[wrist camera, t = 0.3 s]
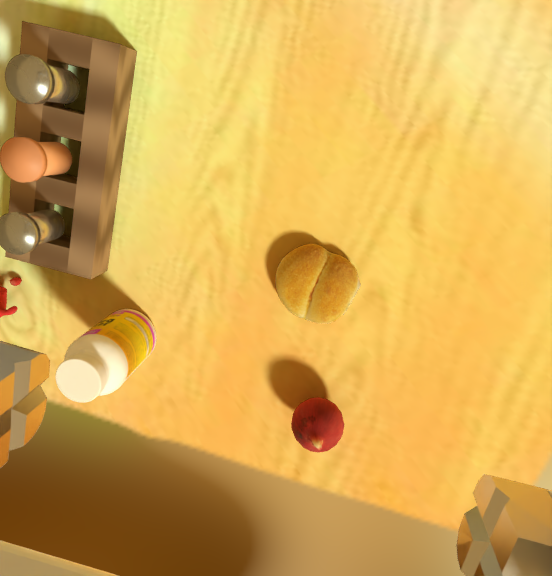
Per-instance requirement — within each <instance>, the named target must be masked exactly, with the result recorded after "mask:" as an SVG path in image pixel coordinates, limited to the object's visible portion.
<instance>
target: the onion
mask: <svg viewBox="0 0 552 576" xmlns="http://www.w3.org/2000/svg"><path fill="white" fill-rule="evenodd" d="M291 425H292V431H293V433H294V436H295V438H296V440H297V441H298V442H299V443H300V444H301V445H302V446H303V447H304V448H306V449H308V450H309V451H313V452H324V451H328V450H330V449H331V448H333V447H334V446H335V445H336V444H337V443H338V441H339V440H340V438H341V437H342V434H343V429H344V422H343V417H342V414H341V412H340V410H339V409H338V407H337V406H336V405H335V404H334V403H332V402H331V401H329V400H327V399H324V398H319V397H317V398H310V399H308V400H306V401H304V402H302V403H300V405H299V406H298V407H297V408H296V410H295V411H294V413H293V417H292V424H291Z"/></svg>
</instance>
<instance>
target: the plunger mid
mask: <svg viewBox="0 0 552 576" xmlns="http://www.w3.org/2000/svg"><path fill="white" fill-rule="evenodd" d="M0 162H1V165H2V168H3V170H4V171H5V173H6V174H7V175H8V176H9V177H10V178H11V179H13V180H15V181H17V182H22V183H25V182H33V181H37V180H39V179H40V178H41V177H42V176H48V175H57V174H63V173H66V172H67V171H68V170H69V169H70V167H71V165H72V155H71V153H70V151H69V149H68V148H67V147H66V146H65V145H64V144H62V143H59V142H37V141H35V140H33V139H31V138H27V137H14V138H11V139H9V140H7V141H6V142H5V143H4V144H3V146H2V148H1V151H0Z"/></svg>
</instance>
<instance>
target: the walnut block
mask: <svg viewBox="0 0 552 576" xmlns="http://www.w3.org/2000/svg"><path fill="white" fill-rule="evenodd" d="M20 54H28V55H32V56H35V57H38V58H41V59H42V60H44V61H45V62H46V63H47V64H48V65H51V66H54V67H58V68H62V69H66V70H68V65H73V66H77V67H81V68H85V69H89V77H88V87H87V96H86V105H85V113H84V112H80V111H76V110H72V109H67V108H64V104H62V103H55V102H47V101H46V102H44V103H42V104H28V103H23V102H21V101H19V100H17V103H16V117H15V131H14V137H27V138H31V139H33V140H35V141H37V142H59V143H60V142H61V137H65V138H69V139H73V140H77V141H81V150H80V159H79V168H78V177H74V176H70V175H66V174H57V175H48V176H42V177H41V178H40V179H39V180H37V181H33V182H25V183H22V182H17V181H15V180H13V179H11V186H10V200H9V213H13V212H23V213H26V214H28V213H33V212H37V211H42V210H46V209H51V210H54V204H57V205H61V206H65V207H69V208H73V209H74V213H73V222H72V231H71V237H67V236H63V235H62V236H61V237H59V238H57V239H54V240H51V241H48V242H45V243H42V244H39V245H38V246H37V248H36V249H34V250H33V251H31V252H28V253H25V254H22V255H14V254H11V253H9V252H7V251H6V256H5V257H9V258H12V259H16V260H20V261H24V262H27V263H31V264H35V265H39V266H43V267H46V268H50V269H54V270H58V271H61V272H65V273H69V274H73V275H77V276H80V277H84V278H88V279H93V278H95V277H96V276H98V275H100V274H102V273H104V272H106V271H107V269H108V262H109V255H110V247H111V240H112V232H113V225H114V218H115V210H116V203H117V195H118V188H119V180H120V173H121V166H122V158H123V151H124V143H125V136H126V129H127V121H128V114H129V106H130V99H131V92H132V84H133V77H134V69H135V62H136V55H137V51H135V50H133V49H130V48H128V47H126V46H124V45H121V44H118V43H113V42H109V41H105V40H101V39H96V38H92V37H88V36H84V35H79V34H75V33H71V32H67V31H62V30H58V29H54V28H50V27H45V26H41V25H37V24H33V23H28V22H24V21H22V34H21V48H20Z"/></svg>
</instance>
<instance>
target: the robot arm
mask: <svg viewBox="0 0 552 576" xmlns="http://www.w3.org/2000/svg"><path fill="white" fill-rule="evenodd" d="M49 368H50V360H49V358H48V357H47V355H46V354H43V353H40V352H37V351H33V350H30V349H26V348H23V347H20V346H16V345H13V344H9V343H6V342H3V341H0V468H1V467H2V466H3V465H4V464H5V463H6V462H7V461H8V454H9V451H10V450H13V449H16V448H19V447H22V446H24V445H25V444H26V443H27V442H28V441H29V440H30V439H31V438H32V437H33V436H34V435H35V433H36V431H37V430H38V428H39V426H40V424H41V423H42V419H43V416H44V413H45V409H46V401H47V397H46V395H45V393H44V392H43V390H42V388H41V386H40V385H41V384H42V383H43V382H44V381H45V380H46V379H47V378H48V377H49ZM473 494H474V497H475V500H476V503H477V506H476V507H475V508H473V509H471V510H470V511H468V512H466V513H465V514H464V517H463V519H462V522H461V525H460V528H459V532H458V540H457V555H458V561H459V565H460V569H461V571H462V572H463V573H464V574H465V575H466V576H552V490H548V489H544V488H540V487H536V486H531V485H527V484H523V483H519V482H515V481H511V480H507V479H503V478H499V477H495V476H491V475H485V474H484V475H483V476H482V477H481V478H480V480H479V481H478V483H477V485H476V487H475V490H474V492H473ZM0 576H118V575H115V574H112V573H108V572H105V571H102V570H98V569H95V568H91V567H88V566H84V565H81V564H78V563H75V562H71V561H68V560H65V559H61V558H58V557H54V556H51V555H48V554H44V553H41V552H37V551H34V550H31V549H28V548H24V547H21V546H17V545H14V544H11V543H7V542H4V541H1V540H0Z"/></svg>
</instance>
